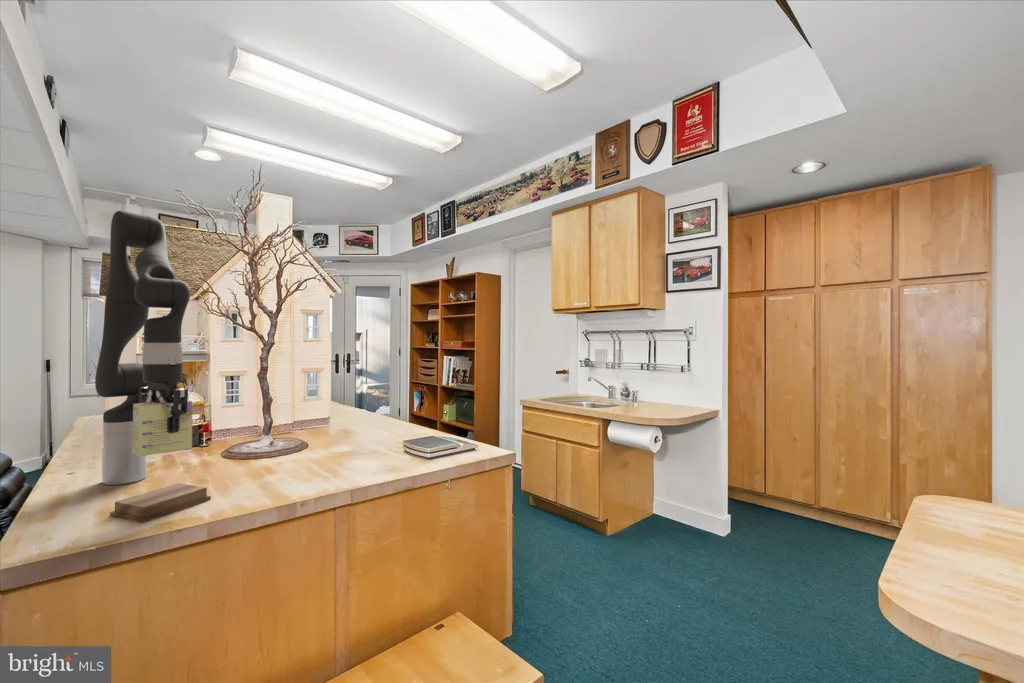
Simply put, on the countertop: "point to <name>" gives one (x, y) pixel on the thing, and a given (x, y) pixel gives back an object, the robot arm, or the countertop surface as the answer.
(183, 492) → the plinth
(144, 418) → the box
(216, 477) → the countertop surface
